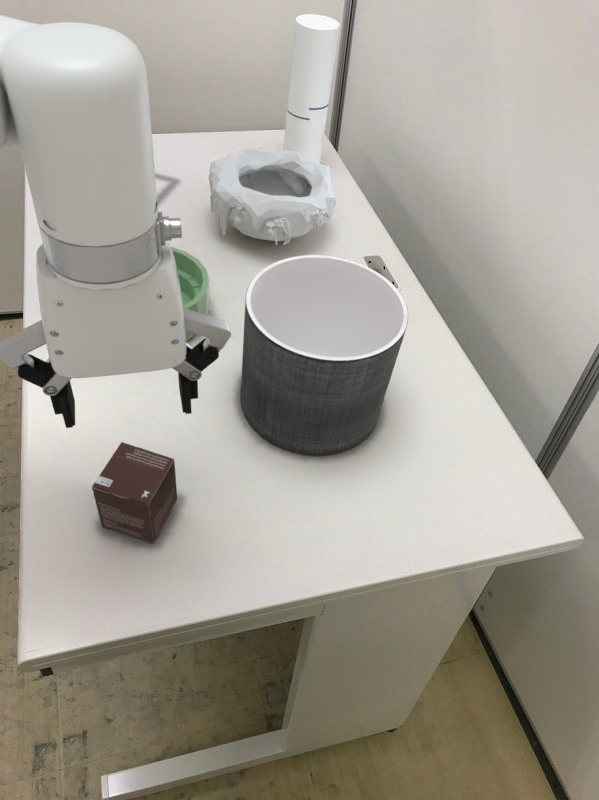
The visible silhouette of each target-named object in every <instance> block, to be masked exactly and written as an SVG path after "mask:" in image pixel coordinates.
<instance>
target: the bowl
mask: <svg viewBox="0 0 599 800" xmlns="http://www.w3.org/2000/svg"><path fill="white" fill-rule="evenodd" d="M208 173H209V174H208V183H209V188H210V196H209V199H210V212H216V213H217V214H218V217H219V221H220V229H221V235H222V237H223V236H226V234H227V230H228V227H229V224H230V225H231V226H233V227H234V228H235V229H237V230H238V231H239V232H240V234H242V235H245V236H248V237H251V238H252V239H256V240H265V241H272V242H273V241H274V242H275V246H278V242H282V241H284V242H283V244H282V245H283V246H285V245H288V244H289V243H290V242H291V239H294V238H299V237H302V236H305V235H306V234H307V233H308V232H309V231H312V229H314V230H315V229H316V226H317V229H319V227H321V229H322V233H325V232H324V230H325V228H324V227H326V221H327V220H326V219H327V218H328V219H329V221H334V219H333V218H334V210H335V206H336V201H337V200H336V199H337V197H336V193H335V186H334V184H333V181H332V180H333V179H332V178H331V169H330V166H329V165H325V164H322V163H321V162H320V163H318V162H316V161H314V160H312V159H310V158H309V157H307V156H305V155H303V154H301V153H298V152H292V151H283V150H278V149H277V150H276V149H272V148H270V147H267V146H265V147H253V146H251V147H248V148H245V149H242V150H238V151H236V152H233V153H230V154H227V155H225V156H224V157H222V158H220V159H216V160H213V161H211V162H210V167H209V172H208Z"/></svg>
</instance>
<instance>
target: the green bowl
mask: <svg viewBox="0 0 599 800" xmlns="http://www.w3.org/2000/svg"><path fill="white" fill-rule="evenodd" d="M171 249H172V252H173V255H174V258H175V262H176V266H177V272H178V277H179V282H180V289H181V297H182V304H183V308H185V309H189V310H192V311H195V312H198V313H201V314H205V315H208V316H209V313H210V278H209V274H208V270H207V268H206V267H205V266H204V264H203V263H202V261H200V259H198V258H197V257H195V256H193V255H192V254H190V252H188V251H185V250H182V249H179V248H177V247H174V246H171ZM185 332H186V341H188V340H190V339H191V338H193V337H195V336H196V335H197V334H194V333H190V332H187V331H185Z"/></svg>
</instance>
